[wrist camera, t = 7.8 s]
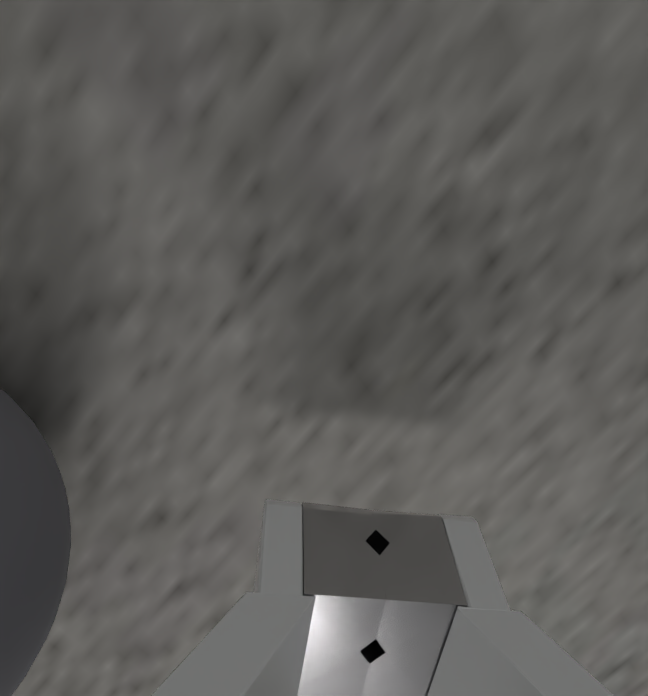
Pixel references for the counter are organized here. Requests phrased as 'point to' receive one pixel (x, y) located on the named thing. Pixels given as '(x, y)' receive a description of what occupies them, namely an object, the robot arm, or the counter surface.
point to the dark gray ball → (28, 542)
